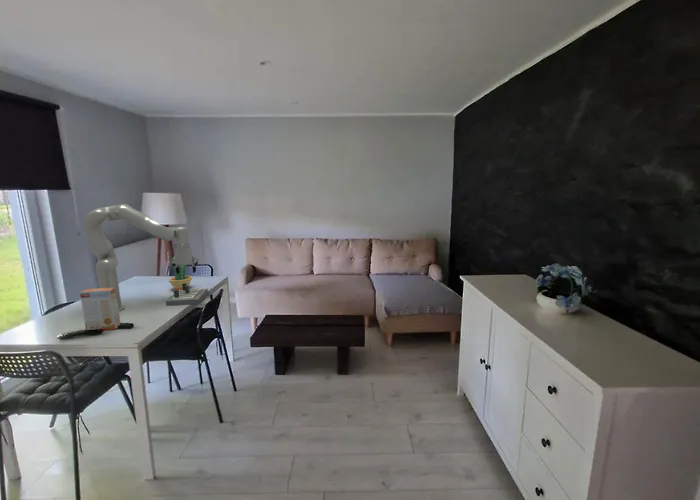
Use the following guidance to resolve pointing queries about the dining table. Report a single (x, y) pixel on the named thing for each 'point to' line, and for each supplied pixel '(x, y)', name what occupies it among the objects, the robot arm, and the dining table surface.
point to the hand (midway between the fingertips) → (186, 272)
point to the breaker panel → (187, 296)
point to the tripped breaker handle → (187, 289)
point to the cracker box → (100, 308)
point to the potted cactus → (180, 278)
